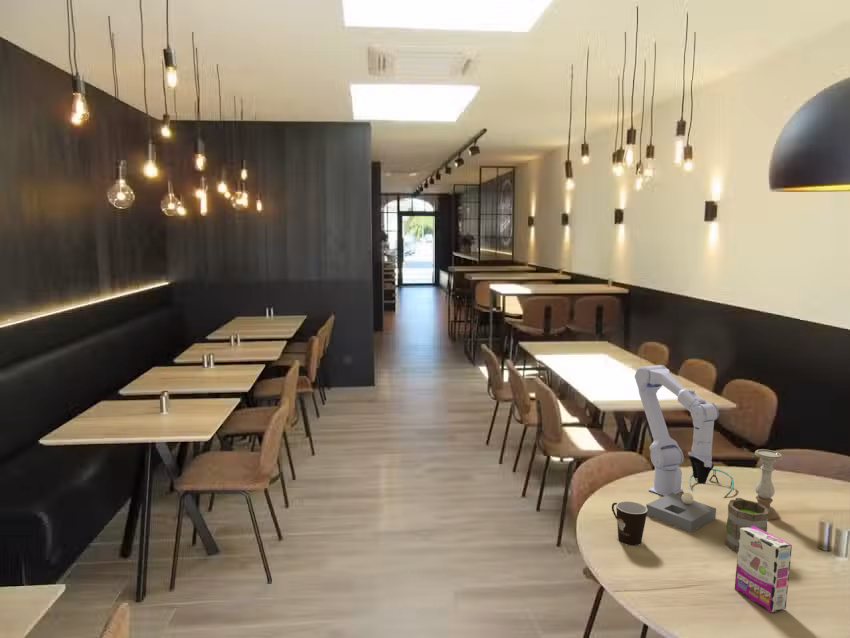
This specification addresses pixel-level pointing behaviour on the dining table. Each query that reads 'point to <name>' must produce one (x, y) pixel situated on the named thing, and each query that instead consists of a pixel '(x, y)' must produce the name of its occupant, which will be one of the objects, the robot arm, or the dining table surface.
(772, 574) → the candy bar box
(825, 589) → the dining table surface
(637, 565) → the dining table surface
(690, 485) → the teal safety glasses
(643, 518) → the coffee mug
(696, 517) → the deck
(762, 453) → the candle holder
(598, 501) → the dining table surface
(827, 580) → the dining table surface
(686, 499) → the ball
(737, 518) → the mug
